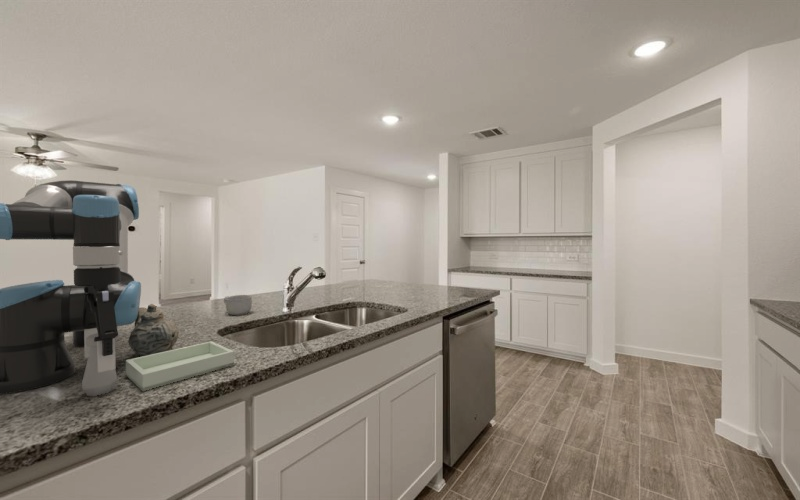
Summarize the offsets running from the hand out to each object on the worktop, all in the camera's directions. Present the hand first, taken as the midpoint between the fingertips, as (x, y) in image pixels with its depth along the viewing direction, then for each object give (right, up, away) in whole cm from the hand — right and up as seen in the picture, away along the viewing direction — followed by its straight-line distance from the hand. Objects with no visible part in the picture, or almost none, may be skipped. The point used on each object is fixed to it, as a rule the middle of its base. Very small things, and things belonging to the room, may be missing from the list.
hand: (99, 363), depth 72 cm
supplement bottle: (-35, -6, +34) cm, 49 cm away
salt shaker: (0, -7, 0) cm, 7 cm away
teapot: (-6, -6, +24) cm, 26 cm away
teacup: (-9, -5, +78) cm, 79 cm away
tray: (+10, -6, +13) cm, 17 cm away
